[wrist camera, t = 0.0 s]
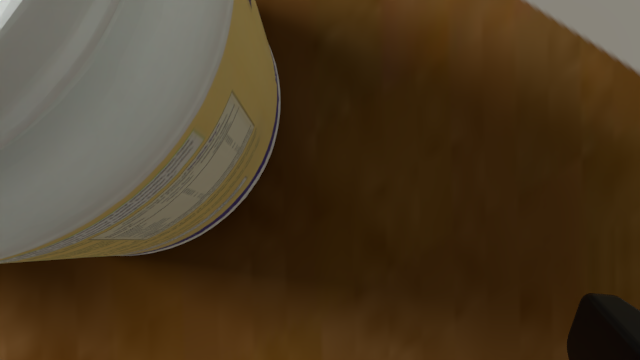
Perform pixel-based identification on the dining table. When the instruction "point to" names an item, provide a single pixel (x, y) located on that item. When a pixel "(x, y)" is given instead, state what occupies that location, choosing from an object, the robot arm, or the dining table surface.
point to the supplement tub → (129, 122)
